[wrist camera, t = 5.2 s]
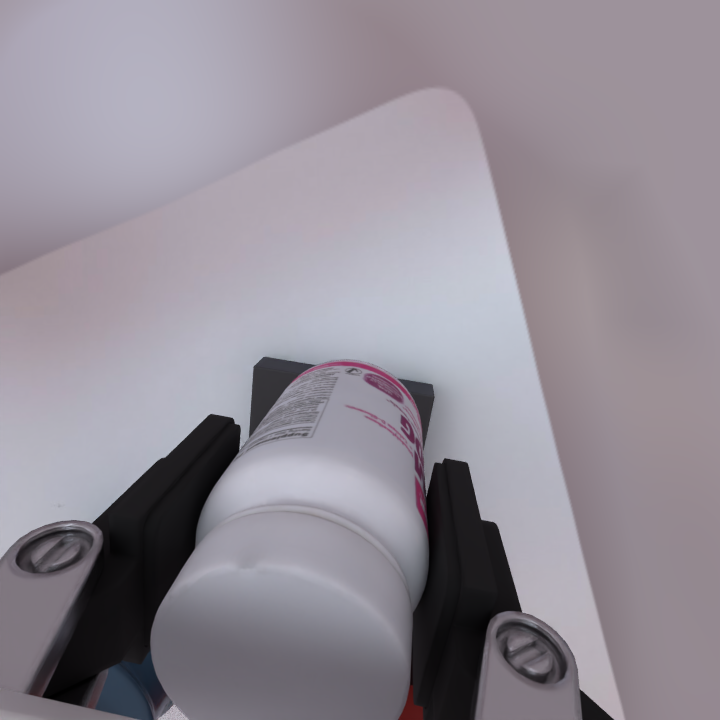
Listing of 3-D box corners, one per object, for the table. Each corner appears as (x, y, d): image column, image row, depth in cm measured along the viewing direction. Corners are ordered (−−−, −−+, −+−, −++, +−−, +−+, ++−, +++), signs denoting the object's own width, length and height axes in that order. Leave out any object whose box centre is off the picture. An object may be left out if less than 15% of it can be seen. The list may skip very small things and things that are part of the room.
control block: (432, 384, 30) (436, 407, 26) (410, 494, 33) (410, 529, 29) (263, 356, 31) (243, 375, 27) (255, 466, 33) (236, 497, 30)
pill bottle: (449, 446, 14) (501, 736, 6) (331, 506, 15) (249, 813, 7) (370, 326, 13) (311, 487, 5) (251, 401, 14) (58, 622, 7)
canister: (55, 532, 37) (-228, 784, 21) (173, 479, 34) (-45, 721, 18) (142, 640, 40) (-45, 937, 24) (258, 599, 37) (138, 904, 21)
